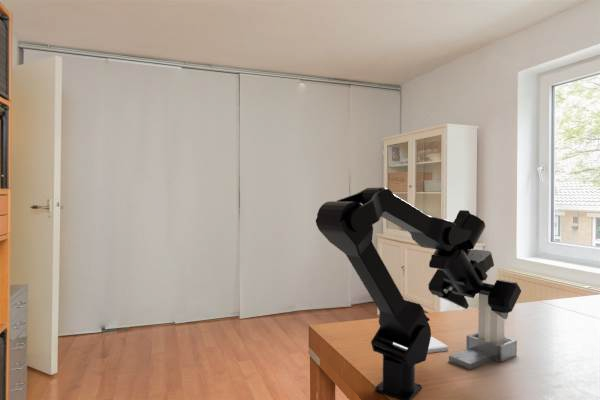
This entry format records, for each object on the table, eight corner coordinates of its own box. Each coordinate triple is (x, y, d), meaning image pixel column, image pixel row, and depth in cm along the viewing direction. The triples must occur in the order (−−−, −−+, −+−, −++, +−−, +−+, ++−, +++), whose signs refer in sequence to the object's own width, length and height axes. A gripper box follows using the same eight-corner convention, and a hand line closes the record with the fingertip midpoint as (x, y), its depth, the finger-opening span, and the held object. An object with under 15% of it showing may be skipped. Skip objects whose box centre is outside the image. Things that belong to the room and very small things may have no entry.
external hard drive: (448, 353, 91) (400, 358, 88) (427, 340, 99) (382, 345, 96) (448, 346, 91) (400, 351, 88) (427, 334, 99) (382, 338, 96)
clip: (496, 352, 87) (497, 295, 87) (478, 345, 91) (478, 291, 91) (504, 349, 89) (504, 293, 89) (485, 343, 92) (486, 289, 92)
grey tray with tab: (476, 372, 80) (477, 355, 80) (442, 358, 86) (442, 343, 86) (518, 355, 89) (518, 339, 89) (484, 343, 95) (484, 329, 95)
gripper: (517, 242, 78) (543, 292, 84) (436, 234, 93) (464, 277, 99) (494, 286, 73) (523, 335, 79) (413, 270, 89) (443, 312, 95)
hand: (486, 312), depth 88 cm, fingers open, 9 cm apart
